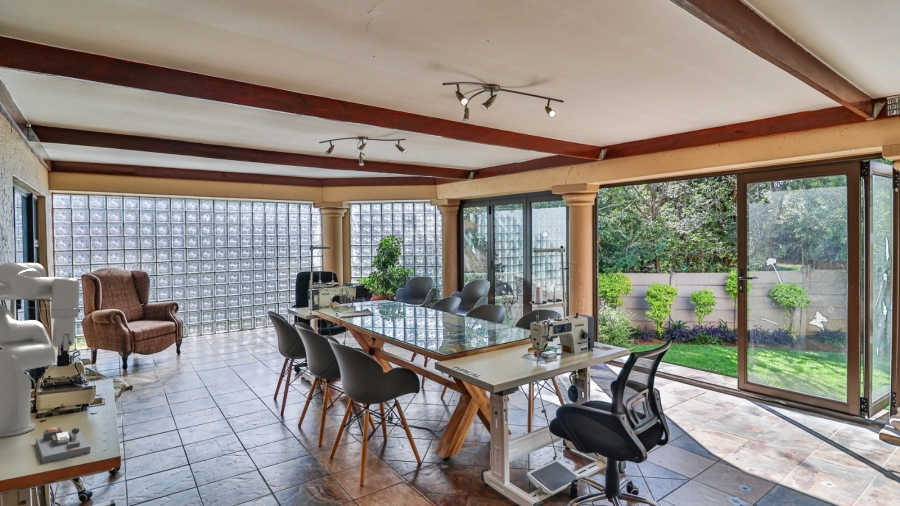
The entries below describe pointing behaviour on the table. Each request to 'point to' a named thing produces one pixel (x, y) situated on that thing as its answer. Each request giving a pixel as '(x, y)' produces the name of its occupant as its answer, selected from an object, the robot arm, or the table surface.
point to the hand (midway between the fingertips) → (63, 365)
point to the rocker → (62, 437)
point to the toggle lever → (74, 434)
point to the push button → (52, 429)
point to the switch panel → (60, 446)
